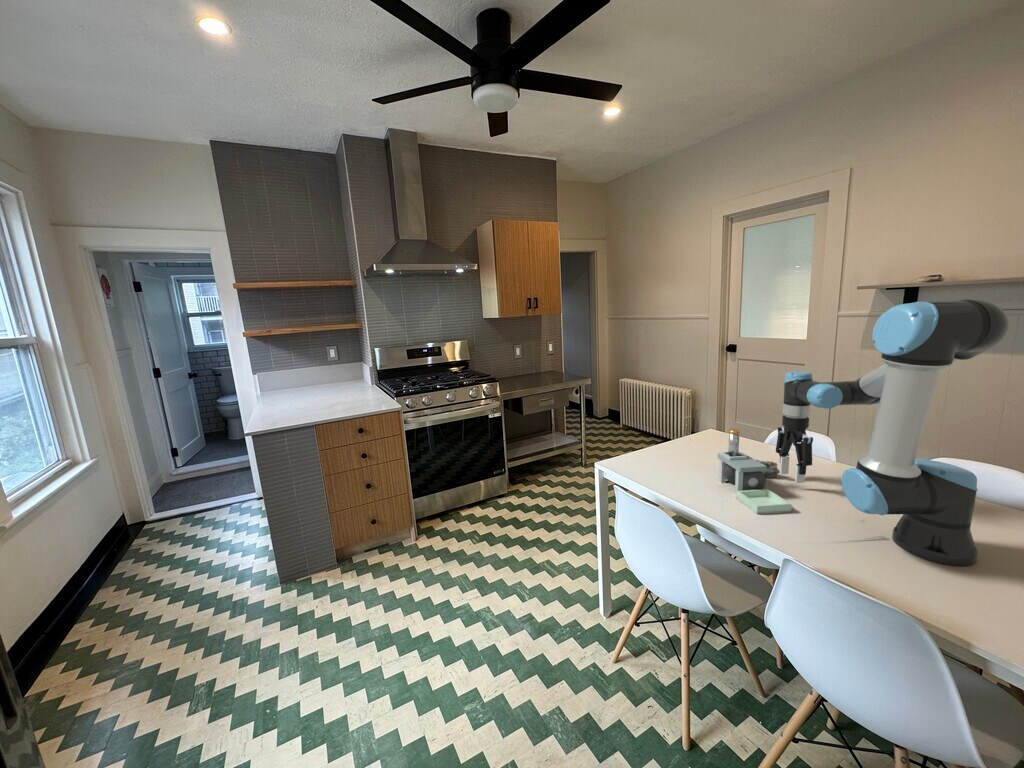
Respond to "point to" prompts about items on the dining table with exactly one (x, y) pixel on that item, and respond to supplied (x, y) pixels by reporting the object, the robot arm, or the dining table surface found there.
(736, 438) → the pin
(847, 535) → the dining table surface
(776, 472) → the rock
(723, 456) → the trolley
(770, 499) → the tray
